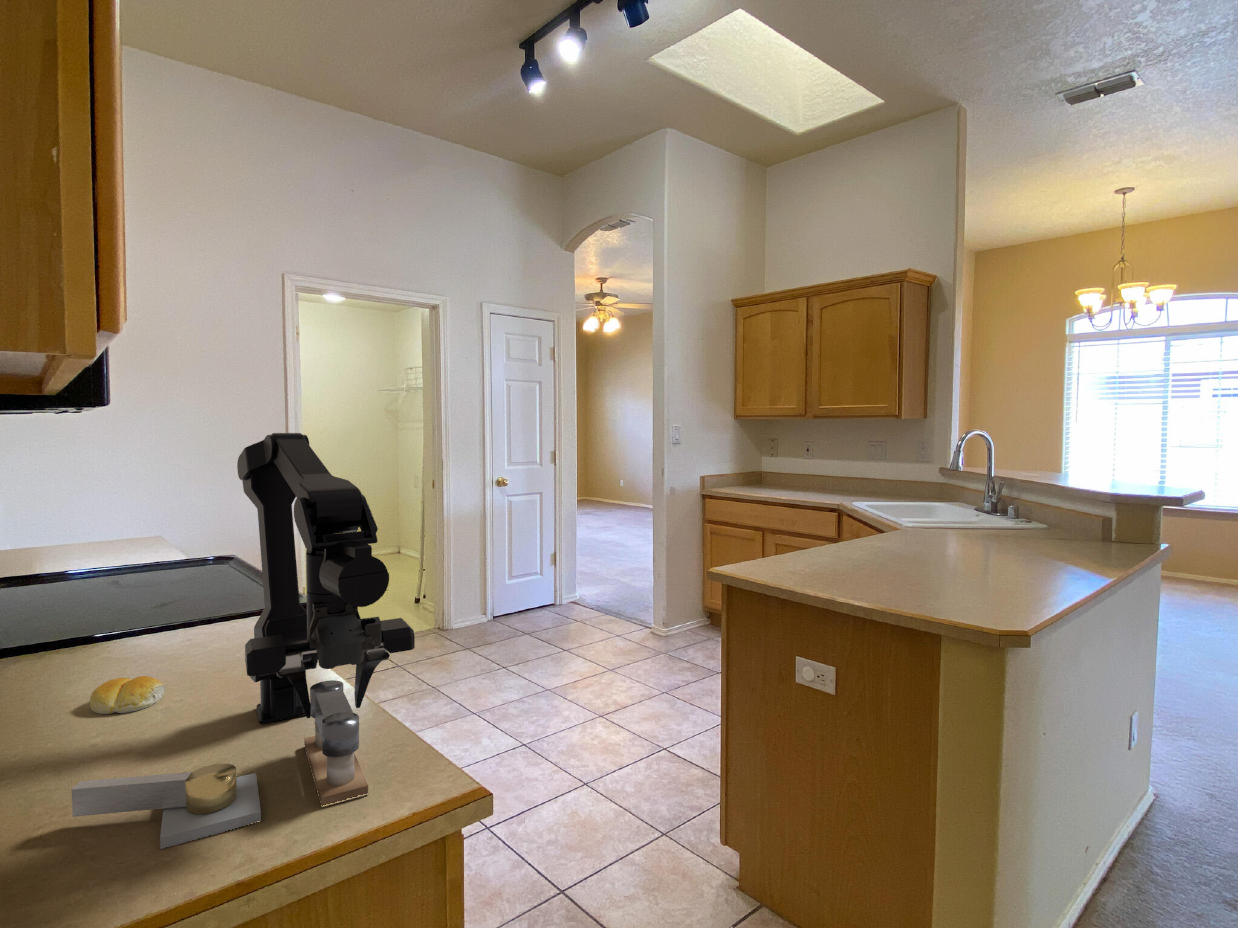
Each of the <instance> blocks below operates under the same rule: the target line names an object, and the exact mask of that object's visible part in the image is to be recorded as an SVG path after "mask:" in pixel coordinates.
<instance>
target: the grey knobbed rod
mask: <svg viewBox="0 0 1238 928" xmlns="http://www.w3.org/2000/svg"><path fill="white" fill-rule="evenodd" d="M309 699H310V706H311V717H310V718H313V719H314V721H315V720H316V723H317V726H318V729H319V732H320V735H321V738H322V753H323V754H324V755H325V756H327V757H342V756H346V755H349V754H352V753H353V752H354V753H355V752H357V750H358V749H359V748H360V716H359V714H358V713H356V712H354V711H353V709H352V707H351V705H350V703H349V701H348V698H347V696H346V694H345V692H344V683H343V682H342V681H340V680H333V679H332V680H323V681H320V682H317V683H315V684H312V685H311V686H310V687H309Z"/></svg>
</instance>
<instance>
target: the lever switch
mask: <svg viewBox="0 0 1238 928" xmlns="http://www.w3.org/2000/svg"><path fill="white" fill-rule="evenodd" d="M237 776H238V775H237V767H236V766H235V765H234V764H231V763H227V762H226V763H222V762H221V763H213V764H210V765H205V766H203V767H200V768H198V769H195V770H194V771H187V772H186V771H185V772H176V773H175V772H174V773H163V774H151V775H141V776H140V775H138V776H127V777H126V776H125V777H116V778H115V777H114V778H103V779H91V780H80V781H79V782H78V783H77V784H76V785H74V786H73V787H72V788H71V789H70V790H71V813H72V817H73V818H75V817H76V818H77V817H86V816H94V815H95V816H96V815H107V814H116V813H117V814H119V813H129V812H137V811H147V810H148V811H149V810H150V811H151V810H159V809H160V810H162V809H163V808H173V807H184V806H186V810H187V811H188V812H190V813H194V814H204V813H210V812H214V811H217V810H220V809H222V808H224V807H226V806H228V805H230V804H231V803H232V802H233V801H234V800H235V799H236V797H237Z"/></svg>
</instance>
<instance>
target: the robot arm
mask: <svg viewBox="0 0 1238 928" xmlns="http://www.w3.org/2000/svg"><path fill="white" fill-rule="evenodd" d="M236 464H237V466H236V468H237V475H238V479H239V480H240V481H242V486H243V487H242V489H243V493H244V494H245V496H246V497H247V498H248V499H249V500H250V501H251V503H252V504H253V505H254V506H255V508H256V509H257V521H258V533H259V545H260V559H261V561H260V563H261V572H262V573H261V574H262V585H263V599H264V607H263V609H262V612H261V614H260V615H259V617H258V619H257V621H256V622H255V625H254V627H253V636H254V637H253V638H250V639H249V640H248V641H247V642H246V643H245V644H244V652H245V653H244V662H245V670H246V675H247V677H248V676H249V678H250V679H251V680H252V681H253V682H254V683H258V682H259V683H260V684H259V686H260V688H259V690H260V691H259V692H260V694H259V695H260V703H257V704H256V714H257V718H258V719H257V720H258V723H259V724H263V725H264V724H267V723H273V722H277V721H281V720H282V719H283V720H286V719H291V718H292V717H293V718H296V717H297V718H298V717H301V716H305V717H306V719H310V718H312V717H311V706H310V692H309V689H308V681H307V670H315V669H317V665H318V666H319V667H320V668H321V669H323V670H332V669H334V668H336V667H340V666H341V667H342V666H346V665H352V666H355V678H354V705H355V709H359V708H361V706H362V703H363V701H364V697H365V695H366V691H367V689H368V686H369V684H370V681H371V679H372V676H373V674H374V672H375V670H376V668H377V667H378V666H379V665H380V664H381V663H382V662H383V661H387V660H389V659H390V654H396V653H402V652H407V651H412V650H414V649H415V645H416V644H415V642H416V641H415V640H416V638H415V637H416V636H415V635H416V634H415V631H414V629H413V628H412V627H411V625H409V623H407V621H405V620H404V619H403V618H402V617H398V618H390V619H383V620H381V619H380V616H373V617H372V616H370V617H365V618H362V617H361V616H360V613H359V608H366V607H369V606H371V605H373V604H375V603H376V602H378V601H379V600H380V599H381V598H383V596H384V594H385V593H386V591H387V589H388V587H389V582H390V573H389V571H388V568H387V566H386V564H384V562H383V561H382V560H381V559H380V558H377V557H376V556H373V548H372V545H373V544H377V543H378V536H377V532H378V530H379V528H378V526H377V523H376V521H375V518H374V515H373V513H372V510H371V508H370V505H369V504H368V502H367V498H366V496H365V495H364V494H363V493H362V491H361V490H360V489H359V488H358V487H357V486H356V485H355V484H354V483H352V481H350V480H349V479H345V478H342V477H341V478H340V477H337V476H334V475H333V474H331V472H330V470H328V468H327V467H326V465H325V464H324V463H323V461H322V460H321V459H320V457H319V456H318V455H317V454H316V452H315V451H314V450H313V448H312V447H311V446H310V440H309V437H308V435H307V434H302V432H273V433H271V434H267V435H266V436H265V437H264V439H263V440H260V441H258V442H255V443H252V444H250V445H248V446H245V447H244V448H243V450H242V451H241V453H240V454H239V456H238V457H237V463H236ZM293 503H294V505H293ZM294 523H295V525H296V528H297V530H298V533H299V536H300V537H301V540H302V543H303V545H304V547H305V551H306V552H305V569H306V570H305V571H306V572H305V573H306V576H305V578H306V582H305V584H306V594H305V595H306V608H305V607H304V606H303V605H302V604H301V602H300V591H299V589H300V588H299V578H298V566H297V565H298V564H297V556H296V555H297V554H296V543H295V542H296V541H295V529H294ZM359 529H360V530H359Z"/></svg>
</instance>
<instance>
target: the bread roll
mask: <svg viewBox="0 0 1238 928" xmlns="http://www.w3.org/2000/svg"><path fill="white" fill-rule="evenodd" d="M165 691H166V686H164V684H163V682H162V681H160V680H159V679H157V678H155V677H152V676H147V675H141V676H137V677H134V678H132V679H131V678H128V677H118V678H114V679H110V680H108V681H106V682H104V683H102V684H100V685H98V686H97V687H96V688H95V689H94V690H93V691H92V693H91V695H90V698H89V706H90V709H91V710H92V711H93V712H94V713H96V714H100V715H111V714H114V713H118V714H127V713H128V714H129V713H132V712H133V713H134V712H137V711H140V710H144V709H146V708H149V707H151V706H153V705H154V704H156V703H158V702H160V700H162V698H163V696H164V694H165Z"/></svg>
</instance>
